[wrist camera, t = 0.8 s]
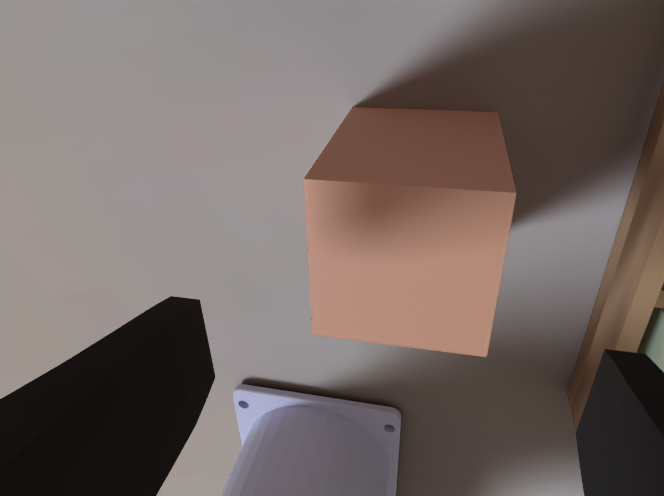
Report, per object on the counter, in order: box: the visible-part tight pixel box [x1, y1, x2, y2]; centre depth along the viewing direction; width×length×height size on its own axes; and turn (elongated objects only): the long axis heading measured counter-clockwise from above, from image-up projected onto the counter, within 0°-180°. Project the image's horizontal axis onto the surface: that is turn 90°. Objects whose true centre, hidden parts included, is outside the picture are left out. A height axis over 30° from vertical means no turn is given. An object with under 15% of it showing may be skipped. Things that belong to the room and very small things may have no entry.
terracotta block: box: [304, 107, 517, 357], centre depth 14 cm, size 4×4×6 cm
